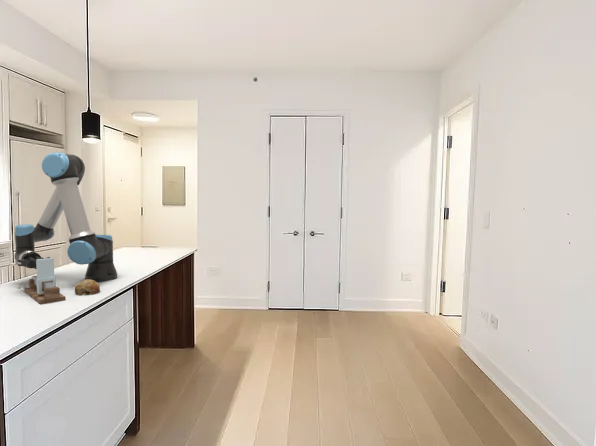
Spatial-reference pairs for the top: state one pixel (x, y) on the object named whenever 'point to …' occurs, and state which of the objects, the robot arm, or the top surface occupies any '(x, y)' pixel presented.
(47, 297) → the base board
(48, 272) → the slotted grey-blue plate
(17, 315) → the top surface
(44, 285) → the grey square bar
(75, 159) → the robot arm
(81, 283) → the bread roll
